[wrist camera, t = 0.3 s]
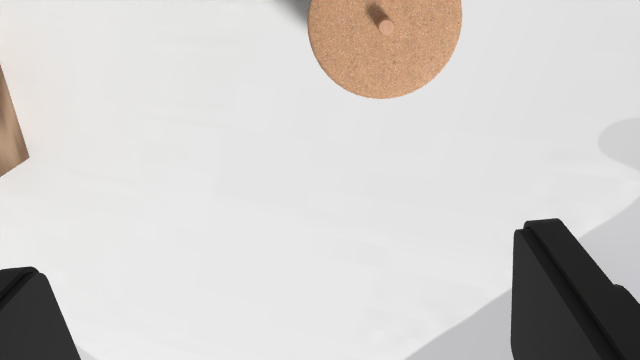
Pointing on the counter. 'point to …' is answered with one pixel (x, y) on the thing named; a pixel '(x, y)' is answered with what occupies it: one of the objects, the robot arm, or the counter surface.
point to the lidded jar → (383, 42)
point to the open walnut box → (9, 132)
